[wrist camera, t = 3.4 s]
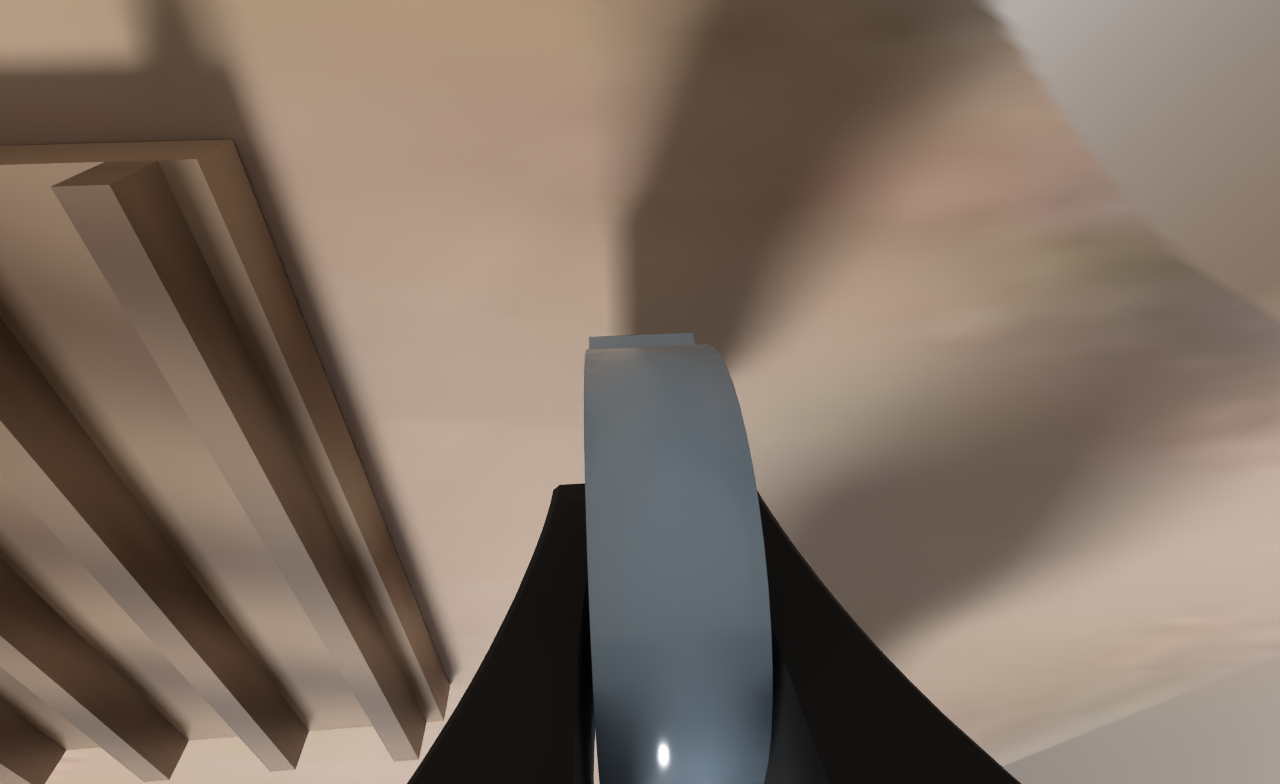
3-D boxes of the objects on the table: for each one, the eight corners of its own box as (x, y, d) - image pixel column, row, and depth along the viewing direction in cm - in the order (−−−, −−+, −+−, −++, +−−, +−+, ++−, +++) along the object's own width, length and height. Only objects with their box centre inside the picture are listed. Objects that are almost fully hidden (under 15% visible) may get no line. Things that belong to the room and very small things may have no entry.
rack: (449, 686, 22) (436, 757, 20) (48, 716, 21) (-6, 793, 19) (232, 139, 10) (153, 183, 9) (-656, 164, 10) (-958, 219, 8)
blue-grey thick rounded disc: (682, 528, 15) (738, 873, 9) (602, 533, 15) (611, 884, 9) (695, 271, 11) (810, 616, 5) (585, 274, 11) (581, 632, 5)
